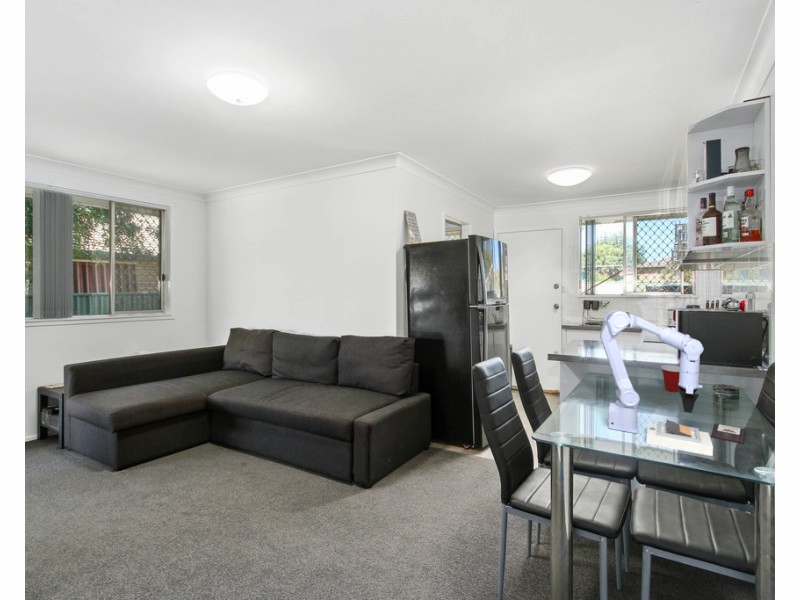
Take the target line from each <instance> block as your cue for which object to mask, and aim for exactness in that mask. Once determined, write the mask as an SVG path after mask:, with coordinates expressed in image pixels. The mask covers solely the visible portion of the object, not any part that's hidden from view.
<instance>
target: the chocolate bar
mask: <svg viewBox="0 0 800 600" xmlns="http://www.w3.org/2000/svg"><path fill="white" fill-rule="evenodd" d="M745 433H746V428H741V427H735V426H731V425H725V424H719V423H714V425H713V428H712V430H711V434H710V439H716V440H721V441H727V442H730V443H731V442H732V443H736V444H740V445H744V442H745Z"/></svg>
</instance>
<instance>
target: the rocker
mask: <svg viewBox="0 0 800 600" xmlns="http://www.w3.org/2000/svg"><path fill="white" fill-rule="evenodd" d="M665 423H666V430H667V431H670V432H672V433H675V434H676V435H680V436H686V437H692V436H691V431H690V428H688V427H689V426H687V425H683V424H681V423H677V422H675V421H672V420H669V419H666V421H665ZM686 426H687V427H686Z"/></svg>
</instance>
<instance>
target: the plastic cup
mask: <svg viewBox="0 0 800 600" xmlns="http://www.w3.org/2000/svg"><path fill="white" fill-rule="evenodd" d="M660 368H661V371H662V376H663V382H664V388H665V391H668V392H671V393H672V392H674V393H679V391H680V389H679V387H678V386H679V385H678V383H679V374H680V365H679V366H677V365H670V364H669V365H667V364H666V365H661V366H660Z"/></svg>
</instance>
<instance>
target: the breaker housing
mask: <svg viewBox="0 0 800 600" xmlns="http://www.w3.org/2000/svg"><path fill="white" fill-rule="evenodd" d="M685 426H686V427H688V428H690V431H691V436H692V437H686V436H680V435H676V434H675V433H672V432H670V431H667V430H666V422H662V421H657V423H652V422H647V428H646V441H645V443H646V445H647V444H648V445H653V446H657V447H661V448H667V449H673V450H677V451H683V452H688V453H694V454H699V455H703V456H710V457H713V455H714V453H713V452H714V446H713V442H712V438H711V435H710V433H709V432H705V431H700V430H699V428H698V427H692V426H688V425H685Z"/></svg>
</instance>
